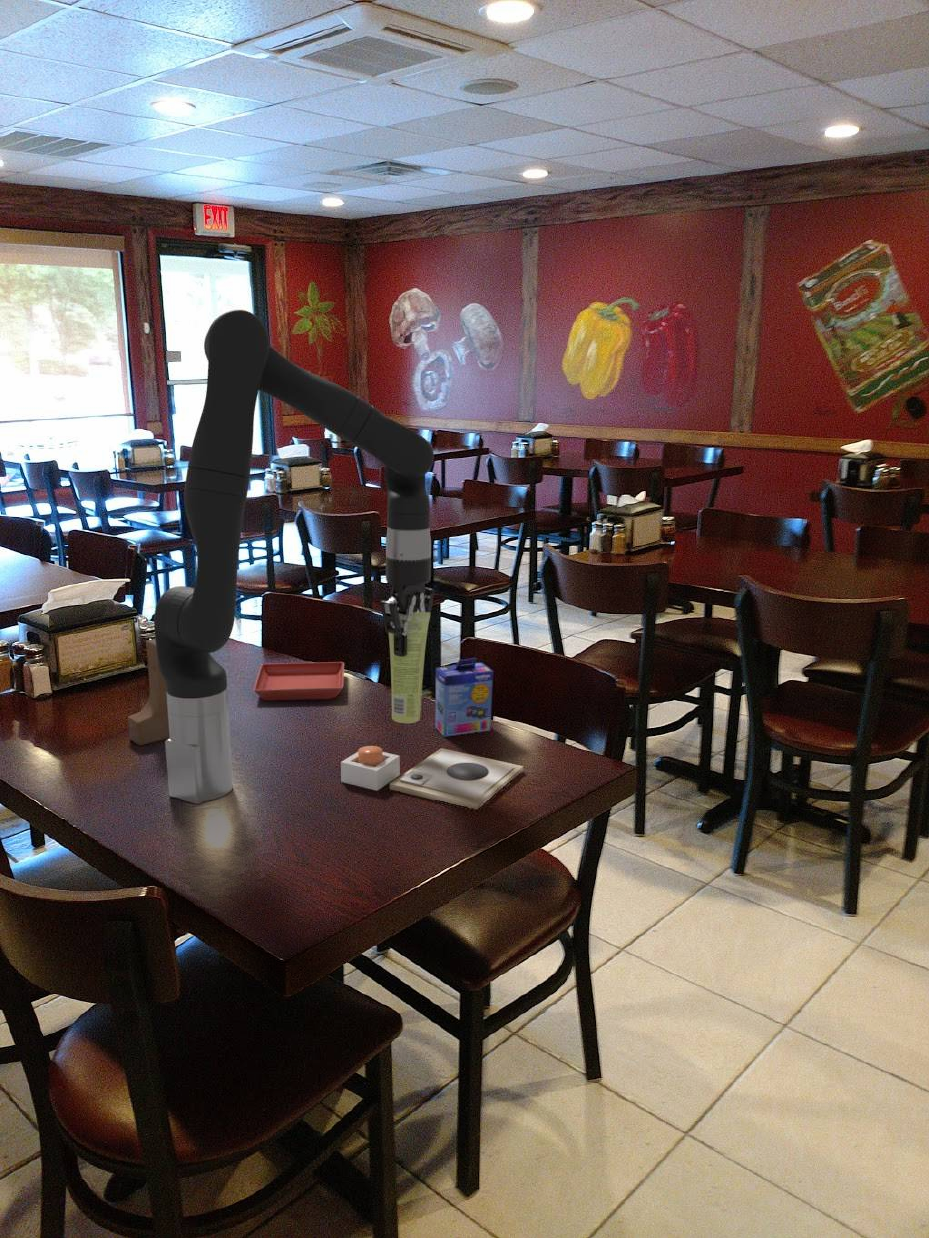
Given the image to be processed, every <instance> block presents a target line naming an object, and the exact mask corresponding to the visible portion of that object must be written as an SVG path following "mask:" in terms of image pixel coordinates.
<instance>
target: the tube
mask: <svg viewBox="0 0 929 1238" xmlns="http://www.w3.org/2000/svg"><path fill="white" fill-rule="evenodd" d="M399 616H402V617H405V616H406V615H404V614H399ZM430 620H431V615H430V613H429V612H413V614H412V620H411V622H409V623H408V629H407V634H406V635H407V655H406V656H404V657H401V656H396V655H395V654H394V635H393V634H392V633H388V640H389V653H390V655H389V656H390V657H389V659H390V677H391V678H390V680H391V719H392V720H393V721H394V722H396V723H400V724H413V723H417V722H419V721H420V720H421V710H422V706H421V705H422V693H423V679H424V667H425V654H426V645H427V637H428V629H429V623H430ZM400 624H401V628H402V621H400ZM391 626H392V622H391Z"/></svg>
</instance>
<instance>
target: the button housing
mask: <svg viewBox="0 0 929 1238" xmlns="http://www.w3.org/2000/svg"><path fill="white" fill-rule="evenodd" d="M400 760H401V756H400V755H398V754H394V753H393V754H392V753H389V752H386V751H383V762H382V763H380V764H379V765H377V766H375V767H373V766H368V765H364V764H360V763H358V751H356V752H355V753H354V754H352V755H350V756H349V757H347V758H345V759H343V760H342V761H340V779H341V780H340V781H341V783H344V784H348V785H353V786H357V787H360V788H364V789H369V790H373V791H379V790H380V789H382V788H384V786H386V785H388V784H390V783H391V782H393V781H394V780H396V779H397V778H399V777H400V776H401V773H400V771H401V768H400V767H401V765H400V764H401V763H400V762H401V761H400Z"/></svg>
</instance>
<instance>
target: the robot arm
mask: <svg viewBox="0 0 929 1238" xmlns="http://www.w3.org/2000/svg"><path fill="white" fill-rule="evenodd" d="M203 344H204V345H203V349H204V354H205V357H206V359H207V381H206V392H205V400H204V404H203V408H202V411H201V413H200V414H201V416H200V418H199V421H198V424H197V428H196V431H195V434H194V438H193V441H192V445H191V450H190V454H189V458H188V464H187V469H186V477H185V485H184V489H183V490H184V491H183V505H184V511H185V514H186V518H187V522H188V525H189V529H190V531H191V535H192V538H193V541H194V545H195V551H196V559H197V561H196V562H197V563H196V565H197V566H196V574H195V575H196V576H195V581H194V587H189V586H185V585H184V586H182V585H181V586H174V587H171V588H169V589H167V590H166V591H164V592H163V594H162V595H161V596H160V598H159V599H158V600H157V603H156V605H155V610H154V617H153V628H154V637H155V638H154V639H155V640H156V648H157V656H158V664H159V669H160V673H161V675H162V677H163V679H164V681H165V683H166V691H167V692H166V693H167V706H168V721H169V735H170V738H167V739H165V743H164V745H165V757H166V760H165V761H166V769H167V771H166V772H167V783H168V784H167V785H168V796H169V797H172V798H176V799H179V800H182V801H186V802H188V803H189V802H190V803H192V804H196V805H199V804H201V803H203V802H207V801H212V800H217V799H219V798H222V797H224V796H226V795H228V794H229V793H230V792H231V791H232V790H233V786H234V785H233V773H232V772H233V769H232V767H233V766H232V751H231V734H230V719H229V717H230V716H229V701H228V700H229V699H228V695H229V694H228V677H227V673H226V669H225V668H224V667H223V666H222V665H221V664H220V663H219V662H218V661H216V660H215V659H214V658H213V656H212V655H211V653H215V652H217V651H220V650H221V649H222V648H223V647H225V645H226V644H227V642H228V641H229V639H230V637H231V634H232V632H233V629H234V625H235V619H236V608H237V583H238V582H237V581H238V563H239V556H240V555H239V553H240V545H241V537H242V527H243V521H244V513H245V507H246V503H247V498H248V491H249V485H250V484H249V483H250V477H251V468H252V467H251V466H252V459H253V456H252V455H253V445H254V443H253V442H254V424H255V423H254V421H255V412H256V411H255V410H256V405H257V400H258V395H259V391H260V392H262V393H265V394H266V395H268V396H271V397H273V398H275V399H276V400H279V401H280V402H282V403H283V404H286V405H288V406H289V407H291V408H293V410H294V409H295V410H296V411H298V412H299V413H300V414H302V415H304V416H306V417H307V418H309V419H310V420H312V421H314V422H315V423H317V424H318V425H320V426H321V427H322V428H324V429H326V430H327V431H329V432H330V433H332V434H334V435H336V436H337V437H338V438H340V439H342V440H343V441H345V442H346V443H347V444H350V445H351V446H353V447H356V448H357V449H359V450H362V451H364V452H366V453H368V454H369V455H371V456H372V457H374V458H375V459H376V460H378V461H380V462H381V463H382V464H384V472H385V482H386V490H387V510H386V511H387V516H386V517H387V529H386V530H387V531H386V538H385V579H386V581H387V582H388V583H389V584H390V585H391V586H392V588H391V591H390V597H389V599H388V600H381V601H380V609H381V614H382V619H383V625H384V630H385V632H386V633H387V634H389V633H392V634H393V635H394V654H395V655H396V656H401V657H404V656H406V655H407V635H406V634H407V629H408V623H409V622H411V620H412V614H413V612H429V613H430V616H431V614H432V608H433V602H434V595H435V589H434V588H430V587H426V586H425V584H428V583H430V582H431V576H432V575H431V574H432V572H431V568H432V560H431V559H432V539H431V531H430V529H431V528H430V526H431V523H430V521H431V519H430V517H431V514H430V513H431V510H430V509H431V507H430V505H431V504H430V498H429V495H428V494H427V491H426V474H428V472H429V471H430V470H431V469H432V467H433V464H434V460H435V456H434V455H435V453H434V450H433V447H432V445H431V444H430V442H429V441H428V439H426V438H425V437H424V436H422V435H421V434H419V433H418V432H417V433H416V432H415V431H414V430H411V428H409V427H407V426H405V425H403V424H401V423H399V422H397V421H395V420H394V419H391V418H390V417H389V416H387V415H385V414H384V413H383V412H381V411H380V410H379V409H378V408H376V407H375V406H374V405H372V404H371V403H369V402H367V401H366V400H364V399H362V398H361V397H360V396H358V395H357V394H354V392H351V391H350V390H348V389H347V388H344V387H342V386H341V385H338V384H337V383H334V382H332V381H330V380H328V379H326V378H323V377H321V376H319V375H317V374H315V373H312V372H310V371H308V370H306V369H304V368H302V367H300V366H299V365H297V364H295V363H293V362H292V361H290V360H289V359H287V358H286V357H284V356H283V355H282V354H280V353H279V351H277V350H276V349H275V348H274V347H272V346H271V345H270V344H271V343H270V337H269V333H268V330H267V329H266V327H265V324H264V323H263V321H261V319H260V318H259V317H258V316H257V315H255V314H254V313H252V312H251V311H248V310H246V309H245V310H244V309H232V310H228V311H225V312H224V313H222V314H220V315H219V316H218V317H217V318H215V319H214V320H213V321H212V323H211V324H210V325H209V328H208V330H207V332H206V335H205V337H204V343H203ZM399 614H404V615H406V616H405V617H402V616H399ZM400 621H402V628H401V624H400ZM391 622H392V626H391Z"/></svg>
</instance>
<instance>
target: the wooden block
mask: <svg viewBox="0 0 929 1238" xmlns="http://www.w3.org/2000/svg"><path fill="white" fill-rule="evenodd" d="M145 644H146V657H147V658H146V659H147V668H148V680H149V681H148V683H149V694H148V695H149V696H148V701H147V703H146V704H145V706H144V707H143V709H142V710H140V711H139V712H136V713H133V714H131V715H129V716H128V717H127V722H128V723H127V725H128V733H129V734H128V735H129V740H131V741H132V742H134V743H135V744H137V745H138V746H144V745H148V744H152V743H156V742H159V741H162V740H168V739H170V735H169V721H168V706H167V693H166V692H167V691H166V683H165V681H164V679H163V677H162V675H161V673H160V669H159V664H158V656H157V648H156V640H155V638H152V639H149V640H146V641H145Z"/></svg>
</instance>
